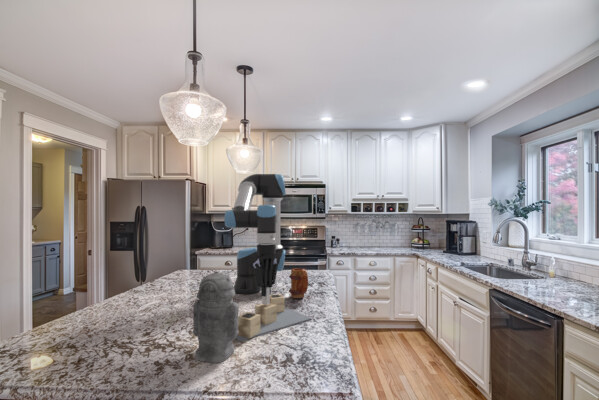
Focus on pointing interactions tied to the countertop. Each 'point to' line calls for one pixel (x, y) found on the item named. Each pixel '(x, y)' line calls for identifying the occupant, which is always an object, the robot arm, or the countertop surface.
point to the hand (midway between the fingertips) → (265, 303)
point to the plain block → (266, 313)
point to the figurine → (215, 318)
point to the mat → (279, 323)
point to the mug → (298, 283)
